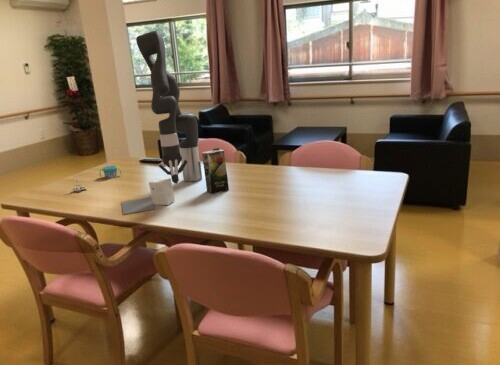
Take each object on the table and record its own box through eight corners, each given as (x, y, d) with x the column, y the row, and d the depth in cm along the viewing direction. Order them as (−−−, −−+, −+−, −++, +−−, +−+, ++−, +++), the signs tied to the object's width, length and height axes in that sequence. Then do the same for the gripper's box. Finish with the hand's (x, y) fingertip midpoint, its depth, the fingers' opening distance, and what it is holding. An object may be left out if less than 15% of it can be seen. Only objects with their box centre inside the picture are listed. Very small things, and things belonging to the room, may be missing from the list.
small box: (175, 200, 180) (171, 178, 177) (168, 205, 175) (163, 182, 172) (160, 200, 183) (155, 178, 180) (153, 204, 178) (148, 182, 175)
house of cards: (68, 198, 198) (65, 183, 196) (68, 194, 205) (65, 179, 203) (88, 195, 201) (85, 180, 199) (87, 191, 209) (84, 176, 207)
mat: (150, 198, 188) (150, 197, 188) (155, 209, 171) (155, 208, 171) (121, 202, 184) (121, 202, 184) (123, 214, 168) (123, 214, 167)
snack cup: (122, 177, 232) (120, 164, 230) (121, 180, 224) (119, 167, 222) (101, 179, 229) (99, 166, 227) (100, 183, 222) (97, 169, 220)
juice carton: (200, 150, 187) (206, 150, 182) (219, 147, 192) (225, 147, 187) (205, 192, 191) (211, 194, 186) (224, 188, 196) (230, 190, 191)
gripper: (183, 140, 179) (188, 178, 184) (153, 145, 175) (159, 183, 179) (186, 142, 172) (192, 182, 177) (155, 147, 168) (161, 187, 173)
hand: (175, 182), depth 178 cm, fingers closed
